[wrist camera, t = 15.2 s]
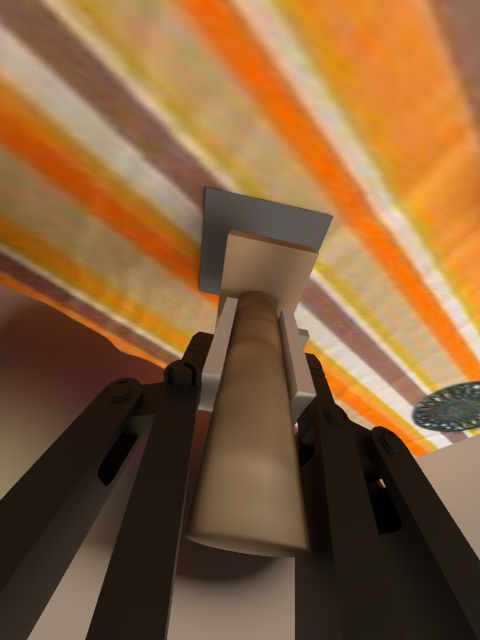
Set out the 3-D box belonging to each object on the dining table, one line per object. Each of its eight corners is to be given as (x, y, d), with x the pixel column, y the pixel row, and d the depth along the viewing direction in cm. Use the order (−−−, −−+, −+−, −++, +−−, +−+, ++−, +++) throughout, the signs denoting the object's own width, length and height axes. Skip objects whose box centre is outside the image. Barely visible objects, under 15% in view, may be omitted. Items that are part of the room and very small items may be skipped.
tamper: (216, 334, 19) (149, 547, 7) (232, 229, 13) (52, 434, 2) (273, 345, 19) (292, 571, 8) (311, 246, 14) (608, 537, 2)
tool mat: (200, 288, 31) (198, 290, 30) (207, 187, 23) (205, 186, 22) (292, 307, 31) (293, 310, 31) (330, 215, 23) (333, 216, 23)
